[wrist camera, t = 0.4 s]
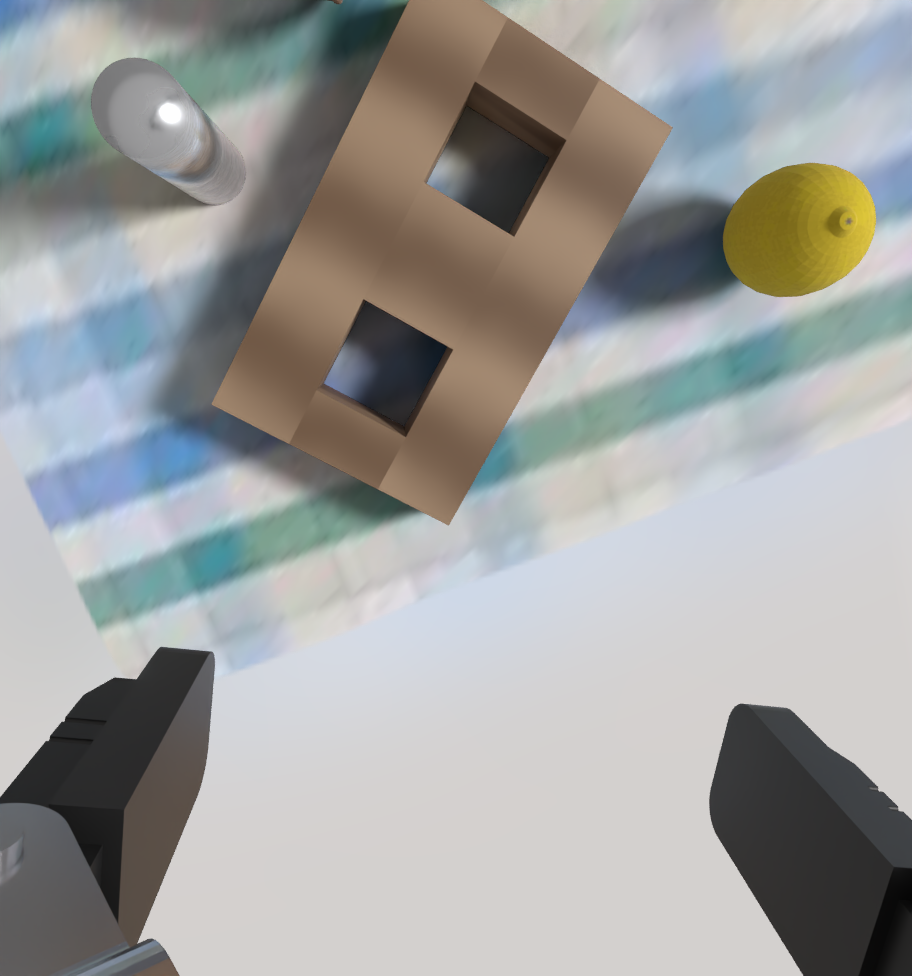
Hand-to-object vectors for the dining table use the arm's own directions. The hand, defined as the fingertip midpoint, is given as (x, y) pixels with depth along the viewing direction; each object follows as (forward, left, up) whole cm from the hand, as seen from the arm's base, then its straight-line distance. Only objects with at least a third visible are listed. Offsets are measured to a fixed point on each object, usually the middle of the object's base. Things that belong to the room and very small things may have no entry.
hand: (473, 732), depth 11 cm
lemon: (-17, +10, -27) cm, 33 cm away
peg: (-7, -14, -27) cm, 31 cm away
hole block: (-8, -3, -27) cm, 28 cm away
